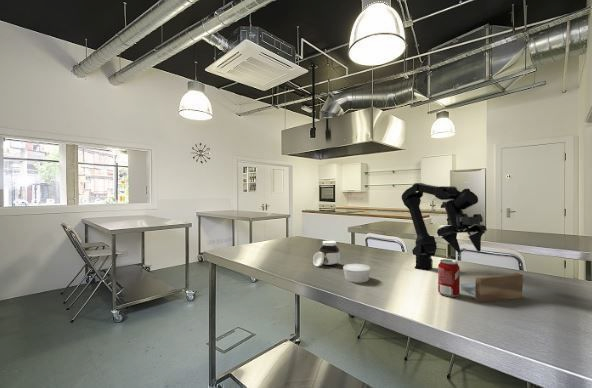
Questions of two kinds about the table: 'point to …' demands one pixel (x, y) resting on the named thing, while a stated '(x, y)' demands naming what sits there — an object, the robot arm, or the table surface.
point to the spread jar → (327, 255)
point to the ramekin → (357, 272)
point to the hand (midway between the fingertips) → (469, 251)
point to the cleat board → (496, 287)
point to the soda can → (449, 278)
